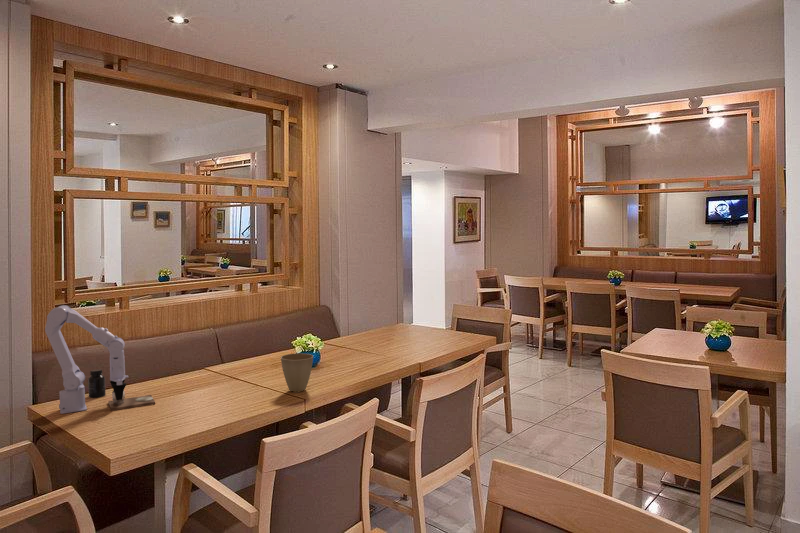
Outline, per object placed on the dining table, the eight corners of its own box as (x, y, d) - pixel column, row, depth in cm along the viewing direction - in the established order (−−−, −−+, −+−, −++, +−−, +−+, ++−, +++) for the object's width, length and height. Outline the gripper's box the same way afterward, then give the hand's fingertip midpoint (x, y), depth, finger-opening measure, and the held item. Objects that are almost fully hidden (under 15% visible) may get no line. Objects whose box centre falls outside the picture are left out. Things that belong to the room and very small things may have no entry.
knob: (112, 400, 235) (112, 392, 235) (111, 398, 239) (111, 390, 239) (125, 399, 238) (125, 390, 238) (124, 396, 242) (123, 388, 242)
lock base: (111, 410, 231) (110, 403, 231) (108, 403, 242) (108, 396, 242) (155, 404, 240) (154, 397, 240) (150, 396, 251) (150, 390, 251)
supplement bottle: (108, 395, 254) (107, 370, 253) (91, 399, 249) (90, 372, 248) (102, 393, 259) (101, 367, 258) (86, 396, 254) (85, 370, 253)
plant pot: (292, 396, 249) (291, 361, 248) (275, 390, 260) (274, 356, 259) (320, 390, 258) (319, 356, 258) (303, 384, 270) (302, 351, 269)
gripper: (129, 368, 234) (130, 400, 234) (126, 362, 246) (127, 392, 247) (110, 371, 230) (112, 403, 231) (108, 364, 242) (109, 395, 243)
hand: (118, 398), depth 239 cm, fingers closed on knob, 5 cm apart
